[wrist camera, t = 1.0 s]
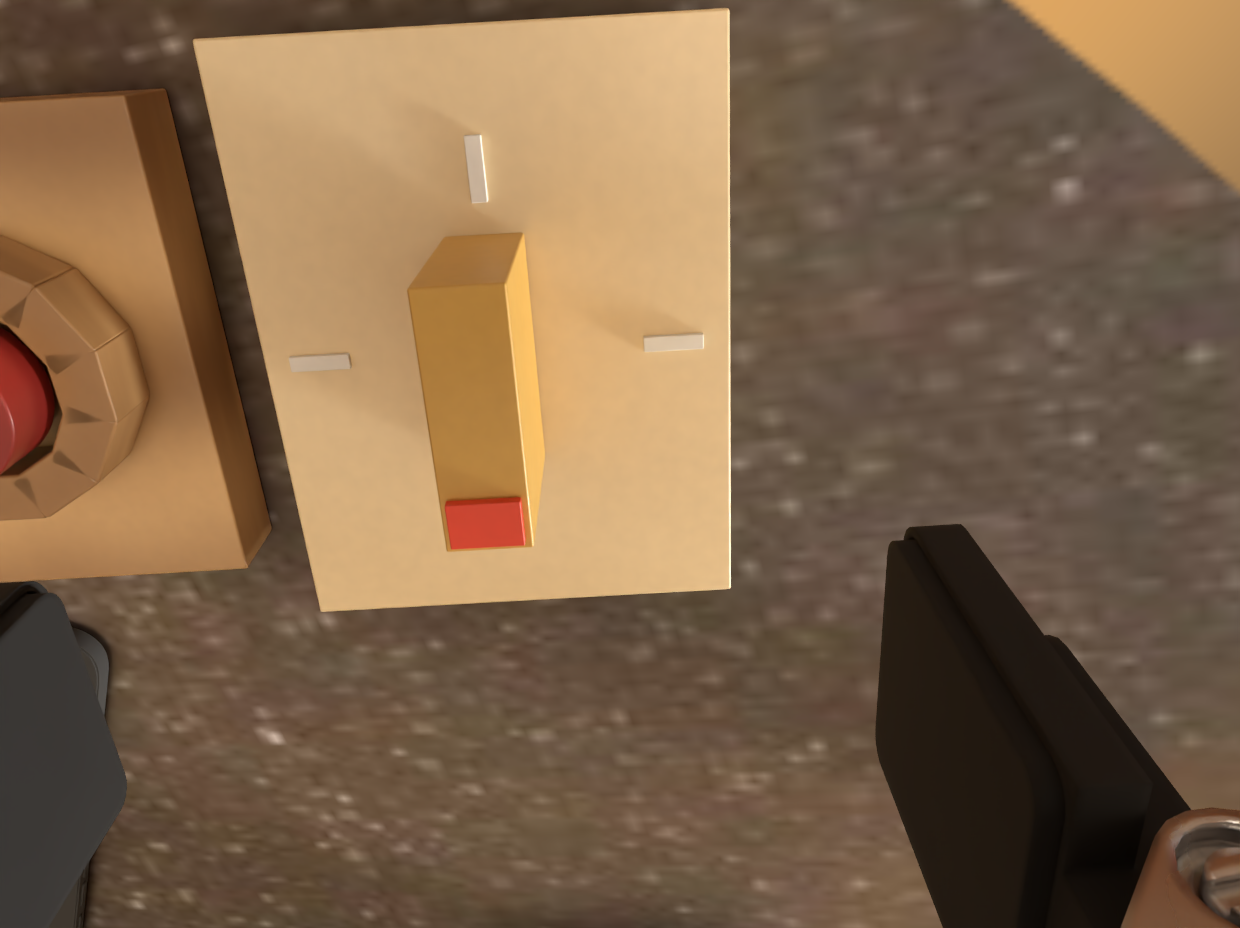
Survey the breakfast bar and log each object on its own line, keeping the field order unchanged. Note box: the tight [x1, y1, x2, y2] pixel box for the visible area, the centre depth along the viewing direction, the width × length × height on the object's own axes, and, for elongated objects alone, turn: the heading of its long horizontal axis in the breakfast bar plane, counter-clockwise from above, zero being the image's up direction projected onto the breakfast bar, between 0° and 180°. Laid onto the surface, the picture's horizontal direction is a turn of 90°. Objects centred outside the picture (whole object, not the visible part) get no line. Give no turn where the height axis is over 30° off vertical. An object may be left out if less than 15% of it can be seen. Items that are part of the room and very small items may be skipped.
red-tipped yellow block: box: [407, 233, 545, 552], centre depth 20 cm, size 6×2×5 cm, turn 3°
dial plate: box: [193, 8, 731, 612], centre depth 23 cm, size 14×11×3 cm
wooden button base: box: [0, 88, 272, 582], centre depth 23 cm, size 12×9×4 cm
